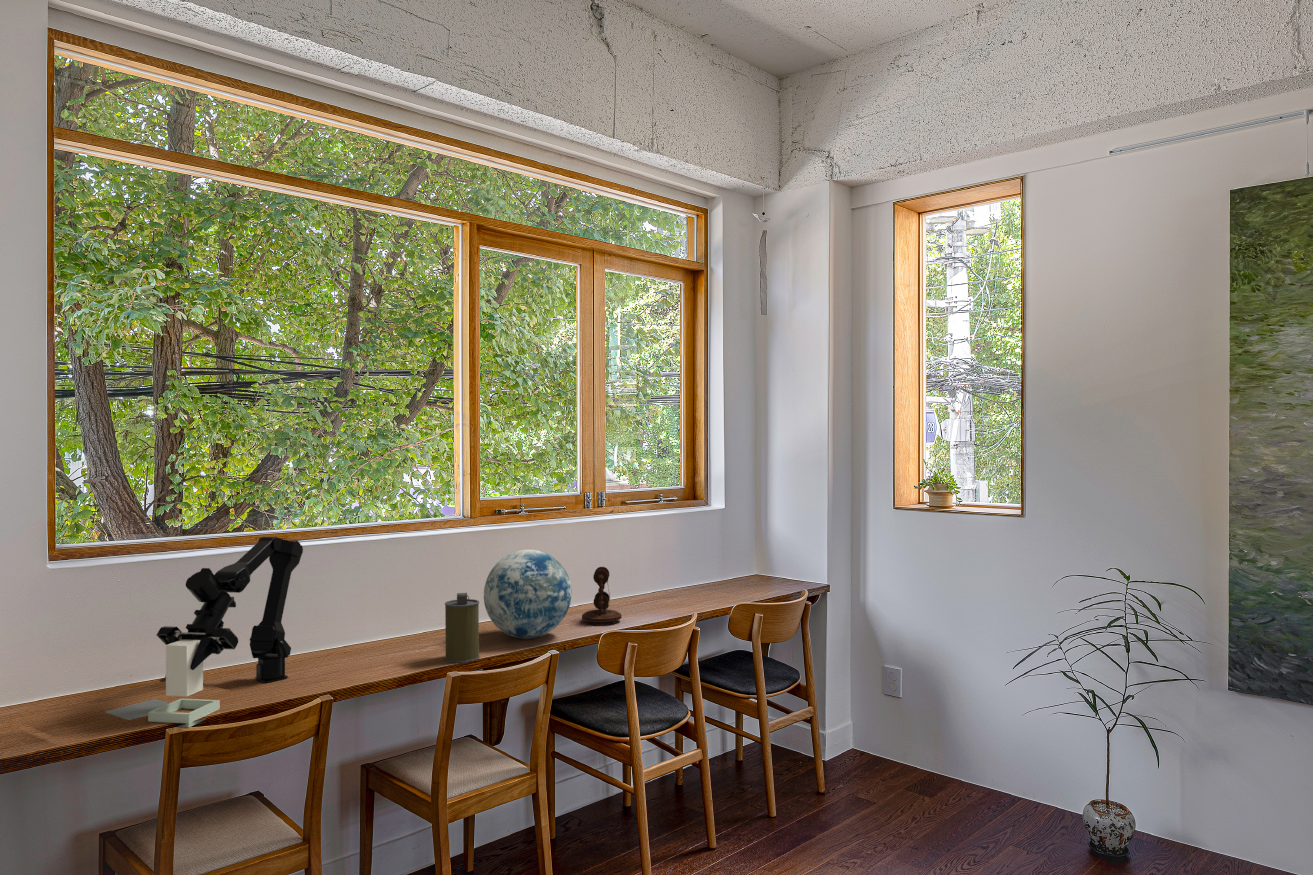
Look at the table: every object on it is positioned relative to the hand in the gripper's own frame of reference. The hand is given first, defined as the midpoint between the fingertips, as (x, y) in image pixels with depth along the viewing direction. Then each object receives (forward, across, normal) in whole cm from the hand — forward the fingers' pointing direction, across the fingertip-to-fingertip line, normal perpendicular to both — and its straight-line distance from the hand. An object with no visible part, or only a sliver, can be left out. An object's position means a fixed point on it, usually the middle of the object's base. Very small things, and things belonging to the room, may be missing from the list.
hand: (180, 668), depth 195 cm
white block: (+3, 0, -5) cm, 6 cm away
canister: (-36, -45, -54) cm, 79 cm away
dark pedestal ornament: (-76, -77, -95) cm, 143 cm away
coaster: (+6, +14, -12) cm, 19 cm away
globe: (-56, -57, -75) cm, 109 cm away
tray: (+8, 0, -10) cm, 13 cm away
